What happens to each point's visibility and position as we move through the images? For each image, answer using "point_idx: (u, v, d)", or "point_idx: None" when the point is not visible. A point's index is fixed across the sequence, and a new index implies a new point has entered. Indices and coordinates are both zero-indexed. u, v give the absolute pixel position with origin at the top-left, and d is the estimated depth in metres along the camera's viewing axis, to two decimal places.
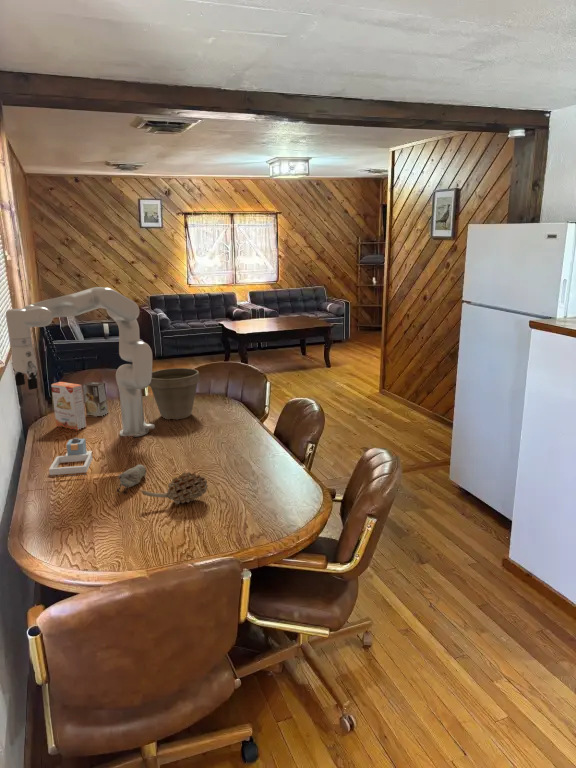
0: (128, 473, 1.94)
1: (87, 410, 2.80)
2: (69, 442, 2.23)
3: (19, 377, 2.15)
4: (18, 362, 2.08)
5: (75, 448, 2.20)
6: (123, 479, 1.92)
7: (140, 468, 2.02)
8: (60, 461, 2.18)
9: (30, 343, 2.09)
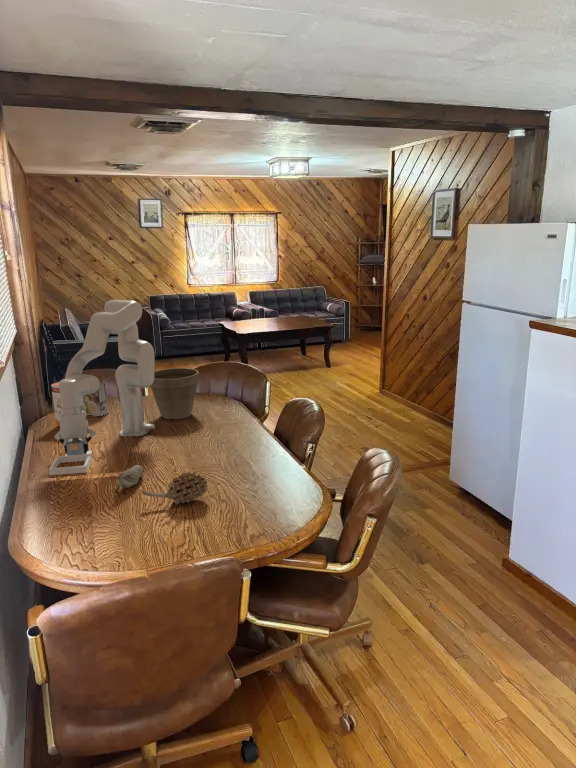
0: (126, 474, 1.94)
1: (87, 410, 2.80)
2: (69, 442, 2.23)
3: None
4: (75, 429, 2.20)
5: (75, 448, 2.20)
6: (121, 480, 1.92)
7: (138, 468, 2.01)
8: (60, 461, 2.18)
9: None
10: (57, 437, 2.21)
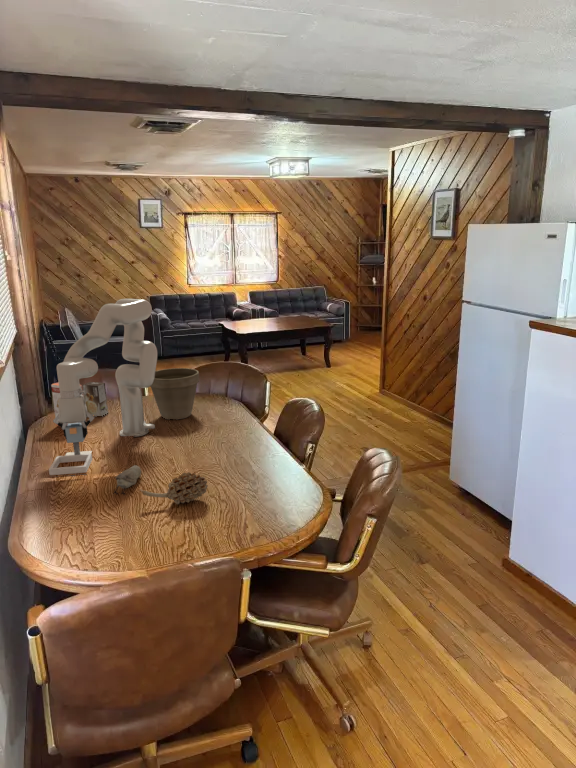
0: (125, 474, 1.94)
1: (87, 410, 2.80)
2: (68, 426, 2.21)
3: None
4: (74, 412, 2.18)
5: (74, 432, 2.19)
6: (120, 480, 1.91)
7: (136, 468, 2.01)
8: (60, 461, 2.18)
9: None
10: (56, 421, 2.20)
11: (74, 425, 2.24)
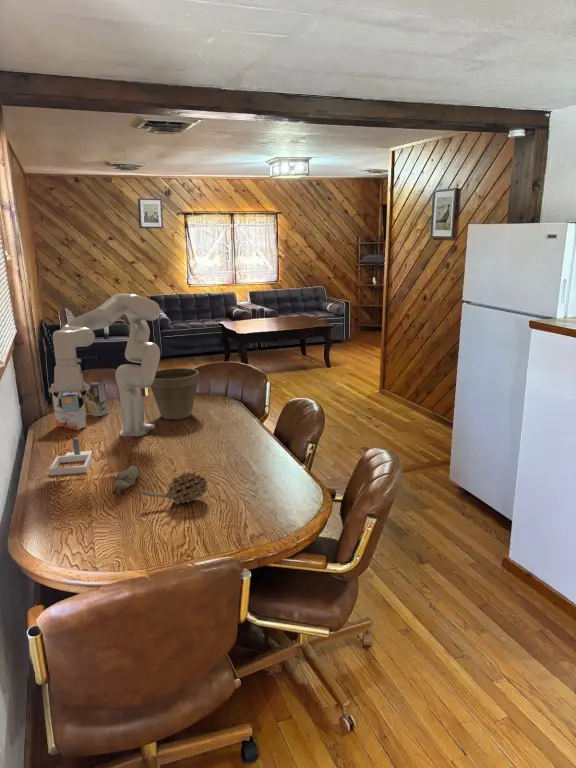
0: (124, 474, 1.93)
1: (87, 410, 2.80)
2: (63, 396, 2.18)
3: None
4: (70, 381, 2.15)
5: (70, 401, 2.15)
6: (119, 480, 1.91)
7: (134, 469, 2.01)
8: (60, 461, 2.18)
9: None
10: (51, 390, 2.16)
11: (70, 395, 2.20)
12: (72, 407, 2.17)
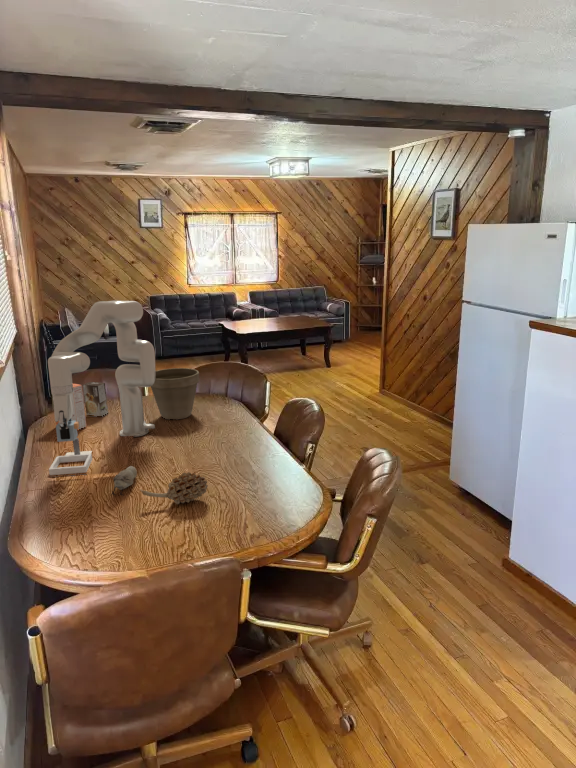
0: (122, 475, 1.93)
1: (87, 410, 2.80)
2: None
3: None
4: (71, 406, 2.09)
5: (78, 425, 2.11)
6: (118, 481, 1.91)
7: (132, 469, 2.00)
8: (60, 461, 2.18)
9: None
10: (63, 422, 2.03)
11: None
12: (76, 432, 2.12)
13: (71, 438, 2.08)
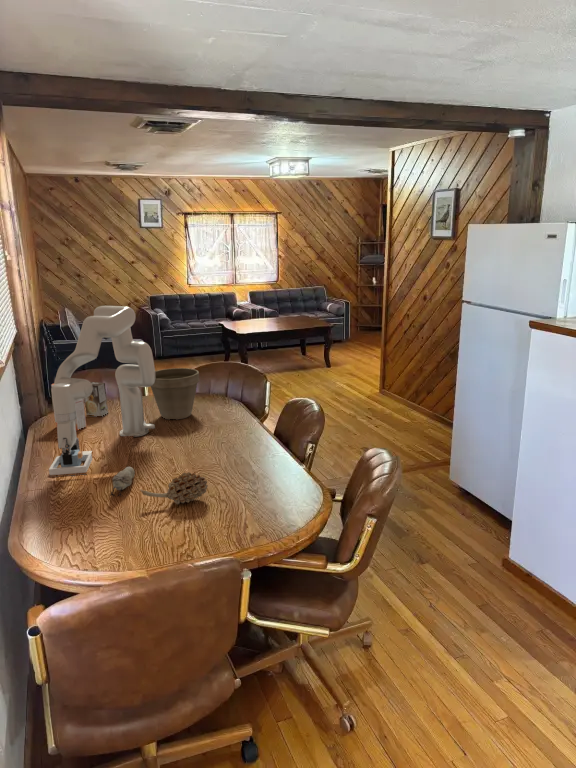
0: (121, 475, 1.92)
1: (87, 410, 2.80)
2: None
3: None
4: (75, 433, 2.12)
5: (82, 455, 2.14)
6: (117, 482, 1.90)
7: (130, 470, 2.00)
8: (60, 461, 2.18)
9: None
10: (65, 447, 2.04)
11: None
12: (79, 461, 2.15)
13: None
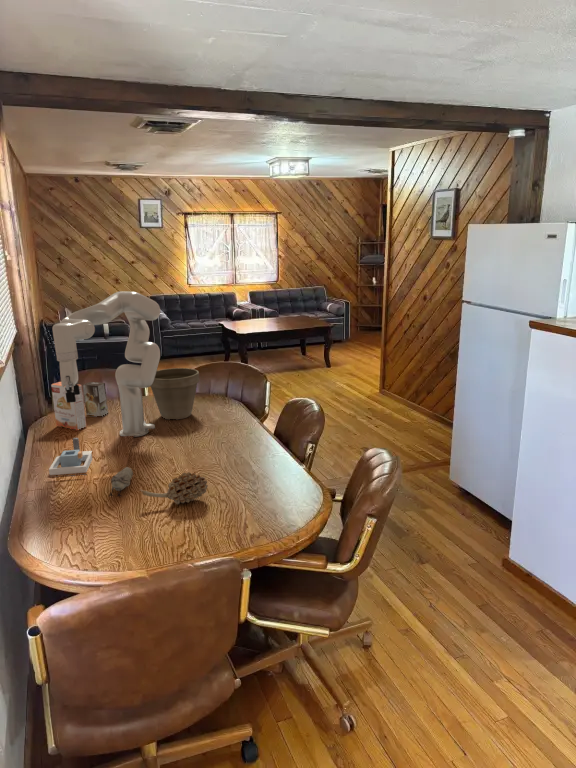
0: (120, 476, 1.92)
1: (87, 410, 2.80)
2: (70, 455, 2.10)
3: None
4: (76, 372, 2.18)
5: (82, 455, 2.14)
6: (116, 482, 1.90)
7: (128, 470, 2.00)
8: (60, 461, 2.18)
9: None
10: (68, 384, 2.10)
11: (65, 455, 2.12)
12: (79, 461, 2.15)
13: None
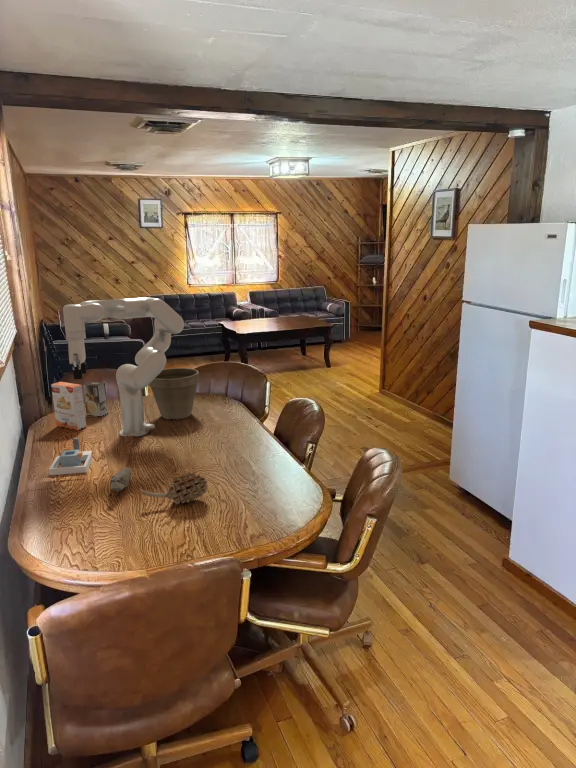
0: (119, 476, 1.92)
1: (87, 410, 2.80)
2: (70, 455, 2.10)
3: None
4: (84, 351, 2.31)
5: (82, 455, 2.14)
6: (115, 483, 1.89)
7: (127, 470, 1.99)
8: (60, 461, 2.18)
9: None
10: (76, 361, 2.23)
11: (65, 455, 2.12)
12: (79, 461, 2.15)
13: None
